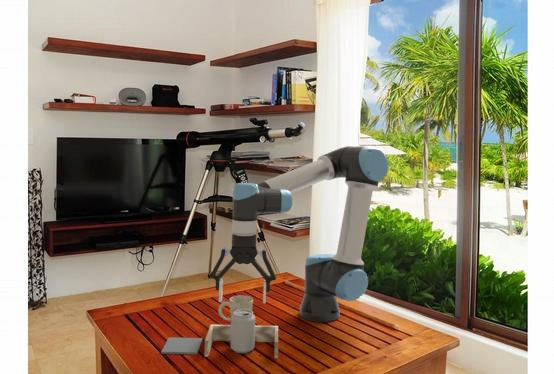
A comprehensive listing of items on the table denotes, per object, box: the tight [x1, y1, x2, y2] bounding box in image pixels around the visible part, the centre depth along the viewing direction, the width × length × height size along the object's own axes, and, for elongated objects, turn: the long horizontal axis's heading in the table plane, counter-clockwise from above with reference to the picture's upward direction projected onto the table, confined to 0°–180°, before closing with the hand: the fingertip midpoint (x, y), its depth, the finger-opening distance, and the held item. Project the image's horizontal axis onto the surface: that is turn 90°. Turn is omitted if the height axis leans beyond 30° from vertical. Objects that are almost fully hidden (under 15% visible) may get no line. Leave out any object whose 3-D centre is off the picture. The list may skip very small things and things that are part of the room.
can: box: [230, 309, 256, 354], centre depth 150 cm, size 8×8×12 cm
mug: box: [218, 295, 254, 322], centre depth 169 cm, size 8×13×10 cm, turn 78°
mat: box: [160, 336, 204, 355], centre depth 151 cm, size 11×11×1 cm
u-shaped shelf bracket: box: [204, 324, 279, 359], centre depth 151 cm, size 22×13×5 cm, turn 90°
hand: (242, 301), depth 149 cm, fingers open, 13 cm apart
